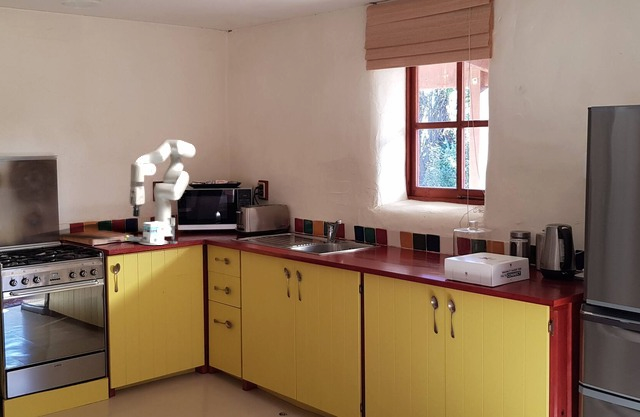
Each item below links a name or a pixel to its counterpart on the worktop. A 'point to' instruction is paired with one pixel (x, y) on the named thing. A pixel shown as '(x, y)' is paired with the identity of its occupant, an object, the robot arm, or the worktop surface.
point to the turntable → (139, 239)
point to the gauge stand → (172, 223)
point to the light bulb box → (153, 232)
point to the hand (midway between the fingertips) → (136, 216)
